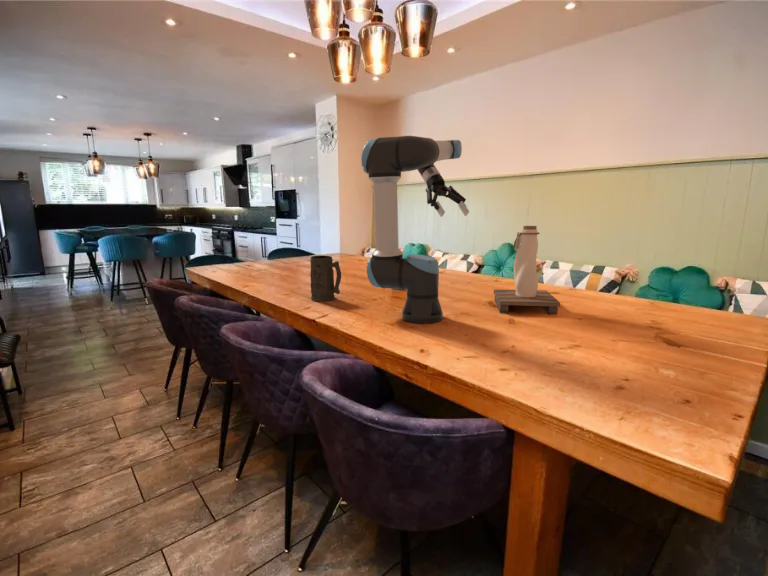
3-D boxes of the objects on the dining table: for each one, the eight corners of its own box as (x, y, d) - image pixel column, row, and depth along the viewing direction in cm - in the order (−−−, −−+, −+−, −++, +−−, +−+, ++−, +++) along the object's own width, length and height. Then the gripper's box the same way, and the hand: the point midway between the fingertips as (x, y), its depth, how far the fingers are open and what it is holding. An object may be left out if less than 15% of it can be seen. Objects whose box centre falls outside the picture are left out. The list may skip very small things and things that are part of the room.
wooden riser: (559, 315, 147) (560, 302, 146) (499, 313, 150) (499, 301, 149) (545, 301, 168) (546, 290, 167) (493, 300, 172) (493, 289, 170)
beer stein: (305, 300, 175) (305, 256, 170) (316, 295, 185) (316, 253, 180) (336, 305, 170) (338, 260, 166) (346, 299, 180) (347, 257, 176)
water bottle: (509, 296, 156) (513, 226, 151) (511, 292, 164) (515, 225, 159) (536, 298, 152) (541, 226, 147) (537, 294, 160) (542, 225, 155)
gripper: (450, 186, 184) (472, 219, 174) (407, 185, 171) (428, 221, 162) (458, 174, 178) (481, 207, 169) (414, 172, 166) (436, 208, 156)
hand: (455, 214), depth 165 cm, fingers open, 13 cm apart
